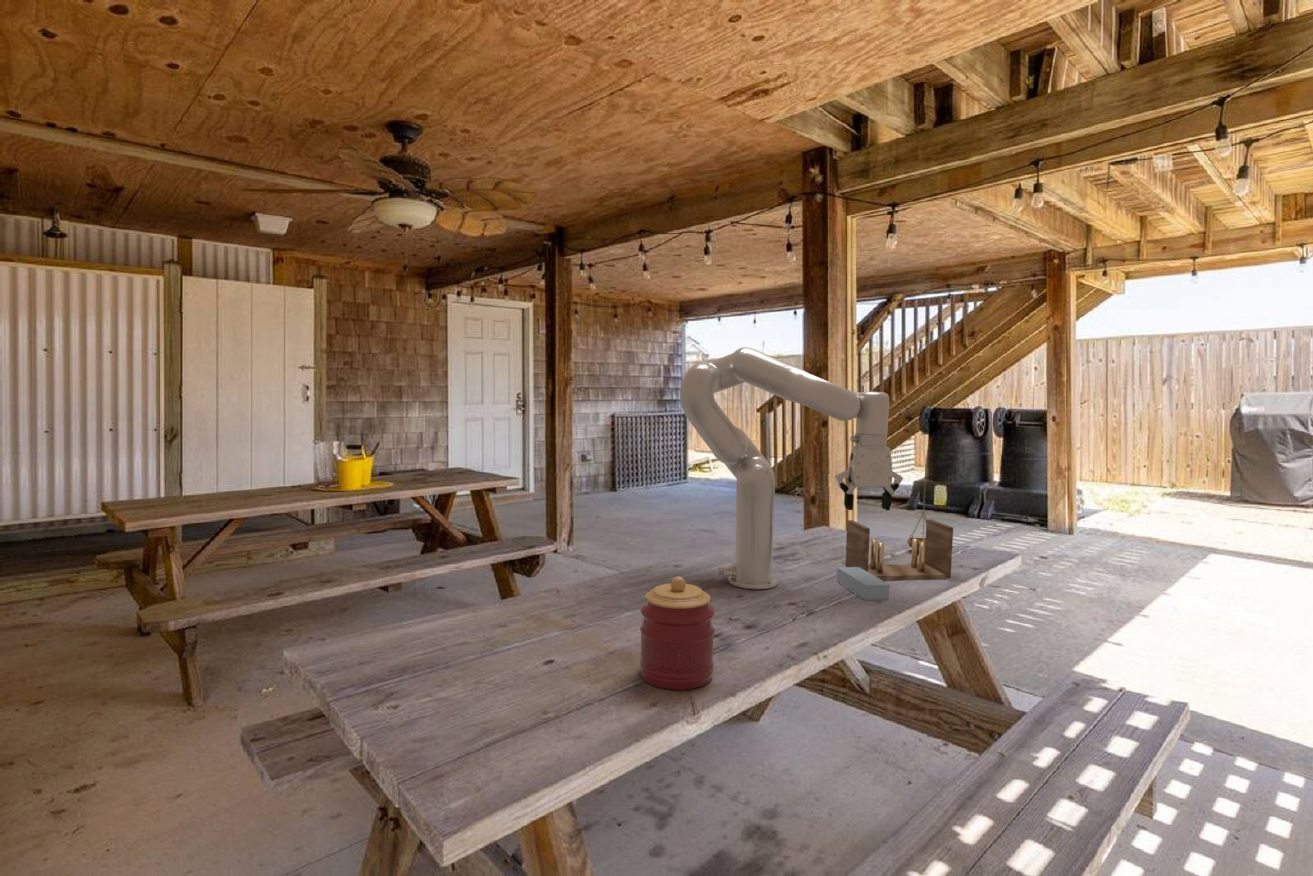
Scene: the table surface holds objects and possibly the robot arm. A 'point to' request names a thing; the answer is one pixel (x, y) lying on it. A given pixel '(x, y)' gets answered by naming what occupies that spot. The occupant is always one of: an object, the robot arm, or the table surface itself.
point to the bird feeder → (919, 540)
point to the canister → (677, 636)
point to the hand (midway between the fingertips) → (867, 509)
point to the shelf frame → (935, 564)
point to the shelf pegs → (922, 550)
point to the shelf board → (863, 583)
